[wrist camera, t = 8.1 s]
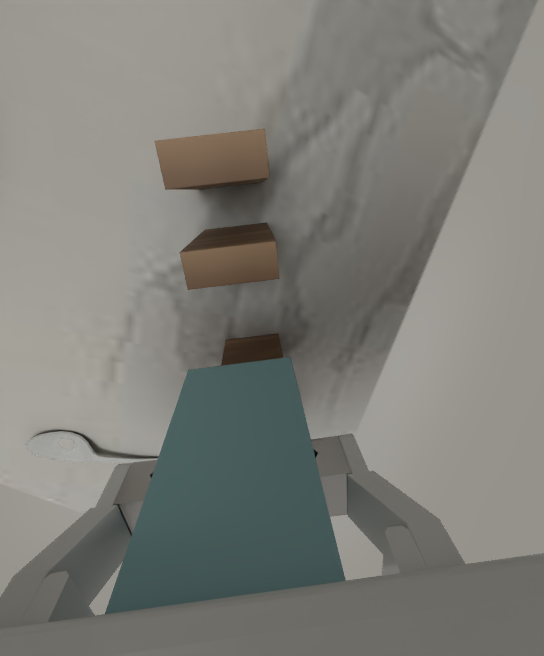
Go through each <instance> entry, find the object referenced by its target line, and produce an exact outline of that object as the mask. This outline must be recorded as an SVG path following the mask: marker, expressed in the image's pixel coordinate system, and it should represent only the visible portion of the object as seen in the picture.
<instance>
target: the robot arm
mask: <svg viewBox="0 0 544 656" xmlns="http://www.w3.org/2000/svg"><path fill="white" fill-rule="evenodd" d="M311 442H312V446H313V450H314V454H315V458H316V463H317V467H318V471H319V475H320V479H321V483H322V487H323V491H324V495H325V499H326V503H327V507H328V511H329V515H330V516H338V515H348V517H349V518H350V519H351V520H352V521H353V522H354V523H355V524H356V525H357V527H358V528H359V529H360V530H361V531H362V532H363V533H364V534H365V535H366V536H367V537H368V538H369V539H370V541H371V542H372V543H373V544H374V545H375V546H376V547H377V548H378V549H379V550H380V552H382V554H383V568H382V576H376V577H369V578H362V579H354V580H347V581H340V582H333V583H326V584H319V585H311V586H304V587H297V588H290V589H283V590H276V591H268V592H261V593H254V594H247V595H240V596H233V597H225V598H218V599H211V600H204V601H197V602H190V603H182V604H175V605H168V606H161V607H154V608H146V609H139V610H132V611H125V612H118V613H110V614H103V615H96V616H95V615H94V613H93V612H92V610H91V609H90V607H89V605H90V603H91V602H92V601H93V599H94V598H95V597H96V596H97V594H98V593H99V592H100V590H101V589H102V588H103V586H104V585H105V584H106V582H107V581H108V580H109V579H110V577H111V576H112V575H113V573H114V572H115V570H116V569H117V568H118V567H119V565H120V564H121V563H122V562H123V560H124V557H125V554H126V551H127V548H128V545H129V542H130V539H131V536H132V533H133V531H134V528H135V525H136V522H137V519H138V516H139V513H140V510H141V507H142V504H143V501H144V498H145V496H146V493H147V490H148V487H149V484H150V481H151V478H152V475H153V472H154V469H155V466H156V463H157V460H150V461H140V462H133V463H124V464H118V465H117V466H116V467H115V468H114V471H113V473H112V475H111V477H110V479H109V481H108V483H107V485H106V487H105V489H104V491H103V493H102V495H101V497H100V499H99V501H98V503H97V505H96V507H95V508H91V509H89V510H88V511H87V512H86V513H85V514H84V515H83V516H82V517H80V518H79V519H78V520H77V521H76V522H75V523H73V524H72V525H71V526H70V527H69V528H68V529H67V530H66V531H64V532H63V533H62V534H61V535H60V536H59V537H58V538H56V539H55V540H54V541H53V542H52V543H51V544H50V545H49V546H47V547H46V548H45V549H44V550H43V551H42V552H41V553H39V554H38V555H37V556H36V557H35V558H34V559H33V560H32V561H30V562H29V563H28V564H27V565H26V566H25V567H23V568H22V569H21V570H20V571H19V572H18V573H17V574H16V575H14V576H13V578H12V579H11V581H10V583H9V584H8V586H7V587H6V589H5V591H4V592H3V594H2V596H1V597H0V656H544V553H542V554H534V555H527V556H520V557H513V558H506V559H499V560H491V561H484V562H477V563H470V564H465V562H464V561H463V559H462V557H461V556H460V554H459V552H458V550H457V549H456V547H455V545H454V543H453V542H452V540H451V538H450V536H449V535H448V533H447V531H446V530H445V528H444V526H443V525H442V523H441V521H440V519H439V518H437V517H436V516H434V515H433V514H432V513H430V512H429V511H428V510H426V509H425V508H423V507H422V506H421V505H419V504H418V503H417V502H415V501H414V500H413V499H411V498H410V497H408V496H407V495H406V494H404V493H403V492H402V491H400V490H399V489H397V488H396V487H395V486H393V485H392V484H391V483H389V482H388V481H387V480H385V479H384V478H382V477H381V476H380V475H378V474H377V473H376V472H374V471H369V470H368V468H367V465H366V463H365V461H364V459H363V456H362V454H361V452H360V450H359V447H358V445H357V443H356V440H355V438H354V436H353V435H352V434H346V435H339V436H333V437H325V438H318V439H311Z"/></svg>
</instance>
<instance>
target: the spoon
mask: <svg viewBox="0 0 544 656" xmlns="http://www.w3.org/2000/svg"><path fill="white" fill-rule="evenodd" d="M61 439H70V440H73V441H74V444H75V447H74V448H73V449H72V450H69V449H65V448H62V447H60V444H59V442H60V440H61ZM26 449H27V450H28V451H29V452H31V453H32V454H34V455H37V456H40V457H44V458H49V459H54V460H60V461H65V462H72V463H85V462H103V463H123V464H124V463H133V462H140V461H150V460H158V458H124V457H110V456H103V455H99V454H97V453H95V452H94V451H93V449H92V448H91V446H90V445H89V443H88V441H86V440H85V439H84V438H83V437H82V436H80V435H78V434H75V433H72V432H64V431H58V432H49V433H44V434H40V435H38V436H35V437H33V438H32V439H30V440H29V441H28V442H27V443H26Z"/></svg>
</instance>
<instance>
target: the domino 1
mask: <svg viewBox="0 0 544 656" xmlns="http://www.w3.org/2000/svg"><path fill="white" fill-rule="evenodd" d="M155 145H156V150H157V154H158V158H159V163H160V167H161V172H162V176H163V181H164V185H165V189H206V188H215V187H223V186H232V185H241V184H249V183H258V182H263V181H265V180H266V179H268V178H270V175H269V165H268V155H267V144H266V134H265V129H257V130H248V131H239V132H230V133H221V134H212V135H203V136H194V137H185V138H176V139H167V140H158V141H155Z"/></svg>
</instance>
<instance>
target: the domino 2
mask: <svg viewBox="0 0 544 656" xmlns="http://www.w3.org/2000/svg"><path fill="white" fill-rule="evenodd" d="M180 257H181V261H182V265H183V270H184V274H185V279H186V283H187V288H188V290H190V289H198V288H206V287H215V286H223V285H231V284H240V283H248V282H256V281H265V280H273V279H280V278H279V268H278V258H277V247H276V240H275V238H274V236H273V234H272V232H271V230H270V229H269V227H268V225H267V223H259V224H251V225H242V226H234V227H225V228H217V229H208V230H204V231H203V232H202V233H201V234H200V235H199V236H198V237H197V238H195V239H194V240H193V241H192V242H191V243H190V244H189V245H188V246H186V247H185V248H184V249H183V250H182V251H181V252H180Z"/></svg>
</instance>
